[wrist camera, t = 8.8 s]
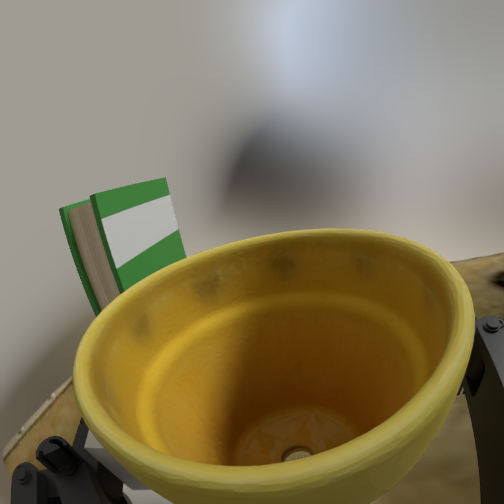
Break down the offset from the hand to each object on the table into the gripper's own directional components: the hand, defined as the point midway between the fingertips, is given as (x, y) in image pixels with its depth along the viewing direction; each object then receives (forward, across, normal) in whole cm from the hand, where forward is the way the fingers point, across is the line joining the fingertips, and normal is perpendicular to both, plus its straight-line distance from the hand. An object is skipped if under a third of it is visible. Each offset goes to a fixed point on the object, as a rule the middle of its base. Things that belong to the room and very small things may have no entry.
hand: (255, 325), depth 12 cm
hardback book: (+29, -13, -16) cm, 35 cm away
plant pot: (-4, 0, -6) cm, 7 cm away
